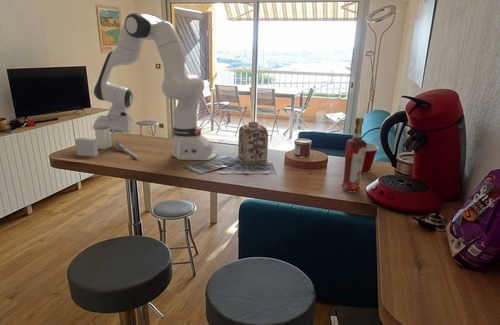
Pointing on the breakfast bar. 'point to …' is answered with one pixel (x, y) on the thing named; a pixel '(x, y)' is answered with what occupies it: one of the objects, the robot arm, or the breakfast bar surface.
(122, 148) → the caliper
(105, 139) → the cream rectangular box
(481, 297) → the breakfast bar surface
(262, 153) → the decorative jar
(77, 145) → the grey holder
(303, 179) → the breakfast bar surface
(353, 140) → the liquor
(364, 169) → the plastic cup
